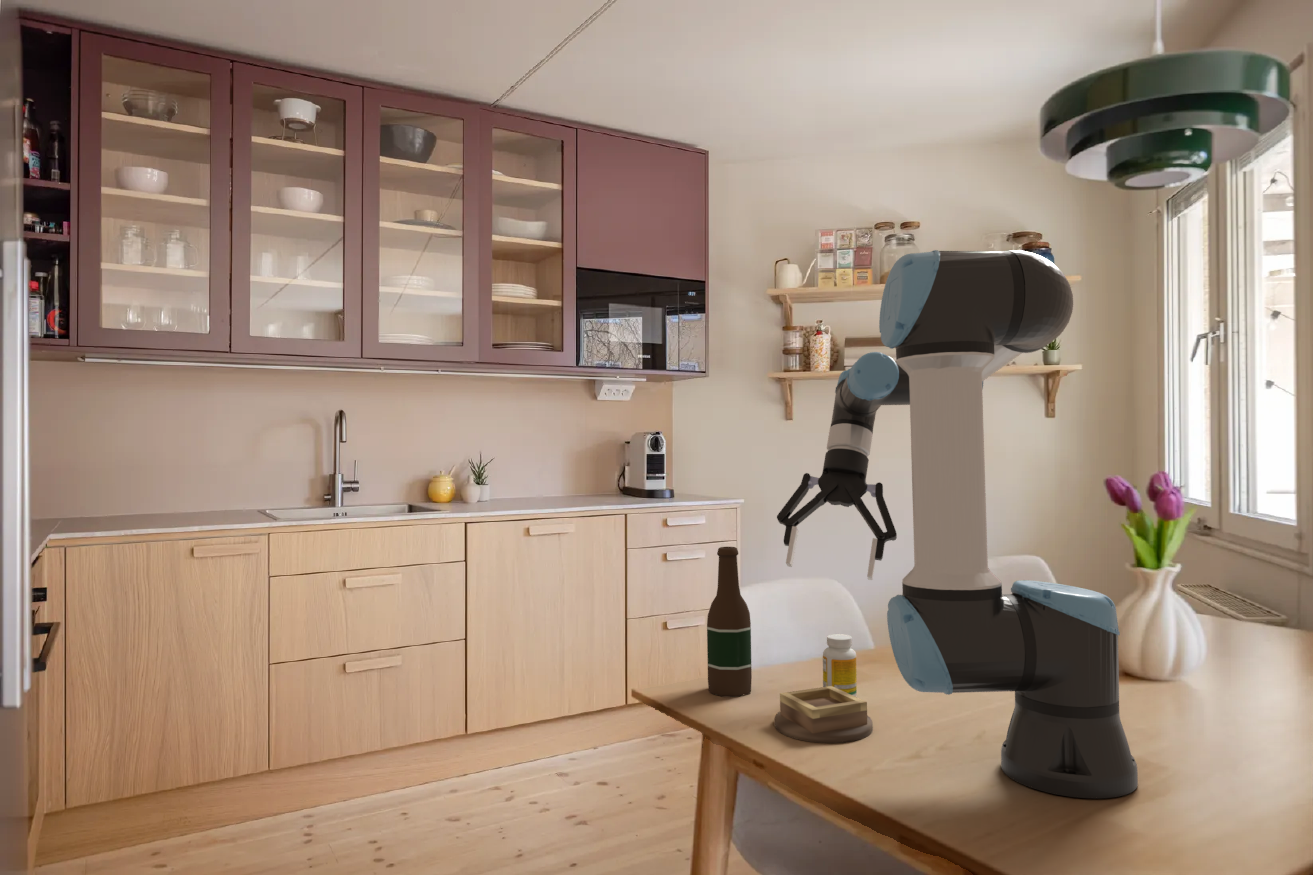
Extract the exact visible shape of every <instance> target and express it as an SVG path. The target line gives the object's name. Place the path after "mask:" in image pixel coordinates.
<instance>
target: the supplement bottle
mask: <svg viewBox="0 0 1313 875" xmlns="http://www.w3.org/2000/svg"><path fill="white" fill-rule="evenodd" d="M826 644H827V646H828V647H826V648H825V649H823V652H822V687H828V686H833V687H835V688H837V689H839V690H842V691H844V692H846V693H848V694H851V695H853V696H855V697H857V690H858V687H857V652H856V651H855V650H854V649H853V648H851V647H852V645H853V638H852V636H851V635H849V634H842V633H838V634H837V633H835V634H828V635H827V636H826Z"/></svg>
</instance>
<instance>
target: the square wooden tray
mask: <svg viewBox="0 0 1313 875" xmlns="http://www.w3.org/2000/svg"><path fill="white" fill-rule="evenodd" d="M779 706H780V707H779V712H777V713H775V715H774V728H775V729H776V731H777V732H779V733H780V734H782V735H783V736H786V737H788V738H792V739H795V740H799V741H804V742H809V743H817V744H819V743H820V744H840V743H841V744H843V743H849V742H857V741H858V740H861V739H864V738H865V739H866V738H867V737H869V736H870V735H871V734H872V733H873V728H874V726H873V719H872V718H871V717H870V716H869V715H868V701H866V700H864V699H861V698H859V697H858V696H853V695H851V694H848V693H846V692H844V691H842V690H839V689H837V688H835V687H833V686H828V687H823V686H822V687H815V688H814V687H813V688H809V689H808V688H807V689H802V690H794V691H793V690H792V691H787V692H780V693H779Z"/></svg>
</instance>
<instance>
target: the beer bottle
mask: <svg viewBox="0 0 1313 875" xmlns="http://www.w3.org/2000/svg"><path fill="white" fill-rule="evenodd" d="M738 550H739V549H738V548H737V547H735V546H720V547H718V549H717V554H716V556H718V568H717V569H718V570H717V572H718V573H717V589H716V596H715V597H714V598H713V600H712V602H711V605H710V607H709V609H708V610H709V611H708V614H707V623H706V638H707V639H706V642H707V644H706V645H707V649H706V650H707V651H706V652H707V654H706V655H707V684H708V685H707V687H708V692H709V693H710V694H712V695H715V694H717V695H716V696H718V695H719V697H722V696H739V697H741V696H740V695H743V694H747V695H749V694H748V693H750V694H751V692H752V675H753V674H752V673H753V672H752V628H751V626H752V624H751V621H752V620H751V613H750V610H749V608H748V605H747V602H746V601H745V600H744V598H743V597H742V595H741V589H740V584H739V582H740V581H739V569H738V555H739V551H738ZM743 696H744V695H743Z"/></svg>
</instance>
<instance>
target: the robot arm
mask: <svg viewBox="0 0 1313 875" xmlns="http://www.w3.org/2000/svg"><path fill="white" fill-rule="evenodd" d="M1073 295H1074V293H1073V290H1072V287H1071V285H1070V282H1069V281H1068V279H1067V277H1066V275H1065V274H1064V272H1063V271H1062V270H1061V269H1060V268H1059V267H1058V266H1057V265H1055V263H1053V262H1052V261H1051V260H1049V259H1048V258H1045V257H1044V256H1042V255H1039V254H1036V253H1034V252H1030V251H1027V250H1026V251H1025V250H1020V249H1019V250H1016V249H1012V250H1010V249H1008V250H999V251H998V250H937V249H934V250H932V251H926V252H914V253H907V254H904V255H902V256H901V257H899V258H898V259H897V260H896V261H895V262H894V263H893V265H892V267H891V268H890V270H889V273H888V276H887V279H886V281H885V285H884V289H883V292H882V297H881V301H880V303H881V304H880V310H879V325H878V326H879V327H878V328H879V329H878V330H879V333H880V341H881V343H882V344H883V346H885V347H887V348H889V349H891V350H892V349H893V350H894V349H895V358H896V359H895V360H894V359H893V358H892V357H891V356H889V355H887V354H886V353H883V352H881V351H871V352H870V351H869V352H868V353H865V354H863V355H861V357H859V358H858V359H857V360H856V361H855V362H854V363H853V365H852V366H851V367H850V368H848V369H847V370H843V371H842V372H841V373H840V375H839V377H838V380H837V385H836V387H835V391H834V393H835V396H834V403H833V410H832V416H831V423H830V427H829V432H828V435H827V436H828V437H827V444H826V450H827V451H826V452H825V456H824V462H823V466H822V467H823V468H822V473H821V475H820V477H817V476H813V475H811V474H810V473H808V472H805V473H804V474H803V476H802V479H801V482H800V484H799V486H798V487H797V489H796V490H795V491H794V492H793V494H792V495H791V497H790V498H789V499H788V500H787V502H786V503H785V504H784V506H783V507H782V508H781V509H780V511H779V512H778V514H777V515H776V519H777V521H778V523H779V524H781V525H783V526H784V527H785V530H784V537H783V545H784V546H785V547H788V548H787V554H786V560H785V564H786V566H787V567H790V568H792V567H793V564H794V558H795V553H796V552H795V551H796V548H797V547H796V546H797V542H798V536H799V535H798V534H799V529H798V527H797V526H798V525H800V524H801V523H803V521H804V520H806V519H807V518H808V517H809V516H811V515H812V514H813V513H814V512H815V511H816V510H818V509H819V508H820V507H822V506H824V505H825V504H826V503H829V504H830V505H832V506H842V507H846V508H849V507H852V506H854V507H855V508H856V510H857V512H858V513H859V514H860V515H861V517H862V518H863V520H864V521H865V523H866V524H867V526H868V528H869V529H870V530H871V532H872V533H873V535H874V537H873V538H872V540H871V546H870V547H871V549H870V554H869V562H868V569H867V580H869V581H873V580H874V573H875V565H876V561H882V560H883V558H884V551H885V544H886V542H888V541H889V542H890V541H893V542H894V541H896V539H897V537H898V536H897V531H896V528H895V525H894V522H893V520H892V517H891V514H890V512H889V509H888V506H887V504H886V501H885V498H884V486H883V483H882V482H881V481H880V482H876V483H875V484H874V483H873V484H872V483H871V484H870V483H868V484H867V474H868V467H869V458H868V457H869V455H870V453H871V449H872V448H871V447H872V443H873V442H872V441H873V433H874V426H875V420H876V415H877V411H878V410H879V409H880V407H882V406H908V405H909V412H910V414H909V415H910V417H909V418H910V451H911V452H910V454H911V456H910V457H911V458H910V459H911V482H912V484H911V485H912V486H911V488H912V517H913V518H912V521H913V522H912V523H913V524H912V525H913V527H912V528H913V557H914V561H913V562H914V566H913V567H912V569H911V570H910V571H909V572H908V573H907V574H906V575H905V576H904V577H903V578H902V582H901V583H902V589H901V590H902V594H896V595H895V596H893V597H891V598H890V599H889V601H888V603H887V609H888V610H887V613H886V618H887V619H886V620H887V630H888V637H889V641H890V645H891V646H890V647H891V649H892V653H893V657H894V660H895V662H896V665H897V667H898V671H899V672H900V674H901V676H902V678H903V679H904V681H905V682H906V683H907V684H908V686H909V687H910V688H912V689H913V690H915V691H916V692H917V691H918V692H921V693H934V694H935V693H937V694H938V693H942V694H945V695H949V696H950V695H952V694H953V693H954V694H959V693H994V692H1014V709H1013V712H1012V715H1011V718H1010V721H1009V724H1008V727H1007V732H1006V737H1005V740H1004V741H1003V742H1002V745H1001V749H1000V761H1001V762H1000V767H1001V770H1002V771H1003V773H1004V774H1005V775H1006V776H1007V777H1009V778H1010V779H1012V780H1013V781H1015V782H1017V783H1019V784H1021V785H1023V786H1025V787H1028V788H1030V789H1031V788H1032V789H1034V790H1037V791H1041V792H1044V793H1048V794H1052V795H1057V796H1064V797H1070V798H1080V799H1081V798H1082V799H1110V798H1111V799H1112V798H1118V797H1124V796H1126V795H1130V794H1131V793H1132V792H1135V790H1136V789H1137V788H1138V786H1139V783H1138V781H1139V780H1138V779H1139V778H1138V763H1137V762H1136V759H1135V757H1134V756H1133V755H1132V753H1131V749H1130V746H1129V742H1128V739H1127V736H1126V733H1125V730H1124V726H1123V723H1122V721H1121V715H1120V670H1119V668H1120V667H1119V665H1120V664H1119V662H1120V661H1119V659H1120V658H1119V636H1120V630H1119V622H1118V614H1117V608H1116V604H1115V603H1114V600H1112V599H1111V598H1110V597H1109V596H1108V595H1106V594H1103V593H1101V592H1098V591H1095V590H1092V589H1087V588H1082V587H1078V586H1073V585H1068V584H1062V583H1055V582H1048V581H1041V580H1029V579H1028V580H1025V579H1023V580H1016V581H1014V582H1013V583H1012V586H1011V587H1010V592H1011V593H1009V594H1008V593H1007V594H1006V593H1005V594H1003V583H1002V581H1001V580H1000V579H999V578H998V577H997V576H996V575H995V574H994V573H993V572H992V571H991V570H990V569H989V566H988V563H989V561H988V534H987V533H988V532H987V527H988V526H987V497H986V495H987V494H986V472H985V471H986V470H985V469H986V468H985V467H986V466H985V464H986V463H985V437H984V436H985V434H984V433H985V432H984V404H983V402H984V400H983V398H984V397H983V389H984V381H985V380H987V379H988V378H990V377H991V376H992V375H995V373H996V372H998V371H999V370H1001V369H1002V368H1003V367H1005V366H1006V365H1008V364H1009V363H1011V362H1012V361H1013V360H1015V359H1016V358H1017V357H1019V356H1021V355H1022V354H1030V353H1031V354H1032V353H1035V352H1038V351H1040V350H1042V349H1044V348H1045V347H1046V346H1048V345H1049V344H1052V342H1053V341H1054V340H1056V339H1057V338H1058V337H1059V336H1060V335H1062V333H1063V332H1064V330H1065V329H1066V327H1067V326H1068V325H1069V323H1070V320H1071V317H1072V314H1073V310H1074V296H1073ZM815 486H818V487H819V489H820V491H819V492H817V493H816V495H815V496H814V497H813V498H812V499H811V500H810V501H808V502H807V503H806V504H805V505H803V506H802V507H801V508H800V509H799V510H797V511H796V512H795V513H794V514H793V512H794V511H795V510H796V508H797V507H798V505H800V503H801V502H802V500H804V498H805V497H806V496H807V494H808V492H809V491H810V489H814V487H815ZM867 492H869V493H870V495H871V497H872V498H875V500H876V505H877V507H878V510H879V513H880V516H881V518H882V521H883V524H884V526H885V529H886V531H885V532H884V531H883V529H882V528H881V526H880V525H879V523H878V522H877V521H876V519H875V518H874V516H873V514H872V513H871V512H870V510H869V509H868V507H867V506H866V504H865V503H864V501H863V499H862V497H863V496H864V495H865V494H866V493H867ZM791 515H792V516H791Z"/></svg>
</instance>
